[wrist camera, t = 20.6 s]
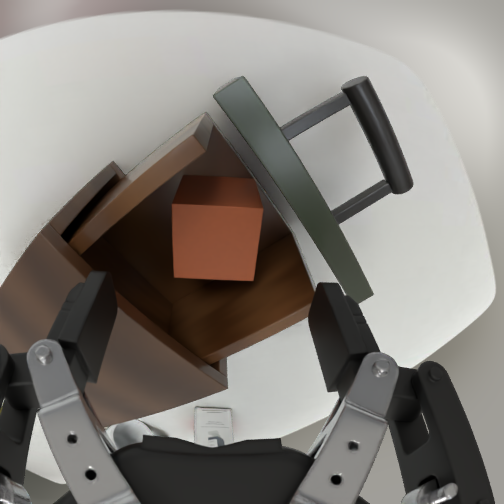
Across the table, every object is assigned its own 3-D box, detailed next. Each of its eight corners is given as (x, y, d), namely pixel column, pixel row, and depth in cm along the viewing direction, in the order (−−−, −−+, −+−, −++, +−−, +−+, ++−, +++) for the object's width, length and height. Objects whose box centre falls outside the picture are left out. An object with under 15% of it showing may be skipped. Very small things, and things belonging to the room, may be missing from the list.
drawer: (307, 37, 14) (364, 14, 7) (387, 186, 19) (451, 245, 13) (76, 208, 18) (21, 276, 12) (179, 309, 24) (170, 391, 17)
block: (182, 174, 17) (171, 203, 13) (255, 178, 17) (263, 208, 14) (182, 237, 19) (173, 278, 15) (248, 240, 19) (253, 281, 16)
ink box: (227, 431, 40) (231, 501, 30) (194, 430, 39) (194, 501, 29) (233, 407, 35) (239, 491, 25) (194, 405, 34) (194, 490, 24)
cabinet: (113, 160, 18) (39, 231, 10) (225, 283, 24) (228, 389, 16) (19, 266, 21) (-31, 342, 13) (112, 348, 27) (92, 430, 19)
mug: (99, 484, 32) (121, 477, 28) (86, 435, 38) (104, 418, 33) (158, 476, 40) (191, 466, 36) (144, 433, 46) (172, 415, 41)
